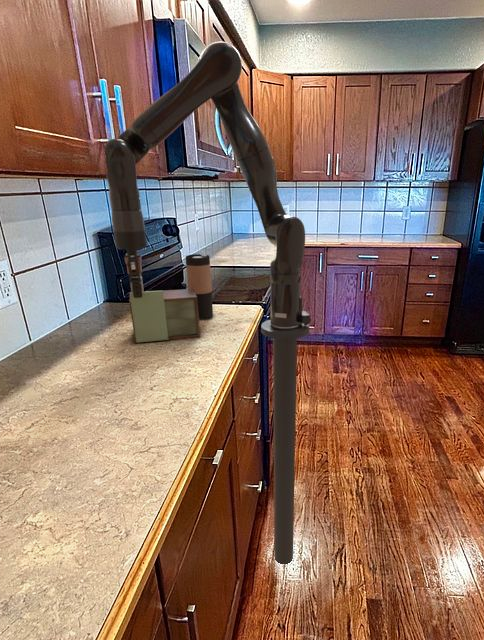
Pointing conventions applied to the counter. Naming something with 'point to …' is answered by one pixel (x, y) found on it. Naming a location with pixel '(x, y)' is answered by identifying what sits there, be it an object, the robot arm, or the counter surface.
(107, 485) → the counter surface
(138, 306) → the sliding door
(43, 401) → the counter surface
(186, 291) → the cabinet
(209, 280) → the travel mug
